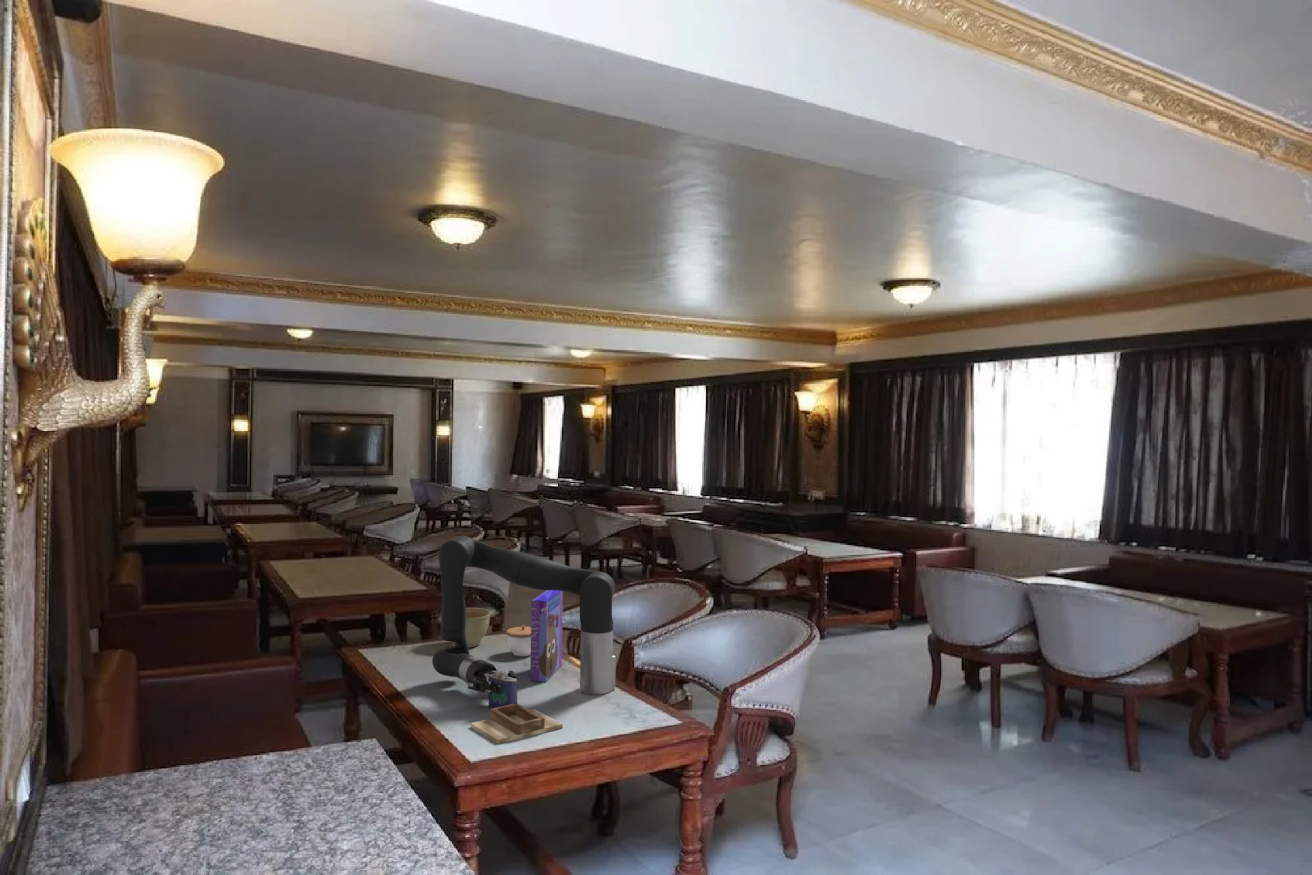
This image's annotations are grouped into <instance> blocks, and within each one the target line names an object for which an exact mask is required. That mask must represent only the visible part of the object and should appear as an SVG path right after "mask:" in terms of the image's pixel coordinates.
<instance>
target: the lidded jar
mask: <svg viewBox="0 0 1312 875" xmlns="http://www.w3.org/2000/svg"><path fill="white" fill-rule="evenodd" d="M506 644H507V647H508V649H509V651H510V652H511V653H513V655H514V656H515V657H530V656H531V626H525V624H522V625H521V626H515V627H511V628H508V629H507V630H506Z"/></svg>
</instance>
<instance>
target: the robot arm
mask: <svg viewBox="0 0 1312 875" xmlns="http://www.w3.org/2000/svg"><path fill="white" fill-rule="evenodd" d="M438 561H439V562H438V563H439V571H440V581H441V582H440V584H441V618H440V619H441V620H440V638H441V639H442V640H443V641H444V642H445V641H446V642H450V643H451V642H455V647H454V646H451V647H445V648H441V649H437V651H435V653H434V654H433V656H432V660H431V662H432V666H433V669H434V670H435V672H436V673H438V674H440V675H442V676H446V677H452V678H458V679H459V680H462V681H463V682H465V683H466V685H467V690H472V691H475V692H480V693H485V692H488V693H489V692H491V691H492V692H494V693H496V694H501V686H500V685H498V684H497V683H495V682H492V681H490V680H489V675H491V674H495V673H497V674H498V675H499V674H500V673H498V672H499V671H498V670H497V668H496V666H495V665H494V664H493V663H491V662H488V661H486V660H484V659H482V658H480V657H476V656H473V655H472V654H470V651H469V648H468V646H467V641H466V635H465V628H466V608H467V606H466V602H465V596H464V576H465V573H466V568H467V567H470V568H475V569H480V570H485V571H488V572H492V573H493V574H495V575H497V576H498V577H500V578H502V579H504V580H505V581H507V582H509V583H512V584H514V585H517V586H521V587H525V588H528V589H532V590H533V589H534V590H538V591H539V590H540V591H541V590H542V591H546V590H558V591H563V592H565V593H566V592H568V593H571V594H574V595H577V596H579V622H580V652H579V653H580V654H579V655H580V656H579V657H580V658H579V659H580V662H579V663H580V664H579V666H580V667H579V668H580V669H579V675H580V676H579V690H580V692H581V693H584V694H587V695H605V694H608V693H610V692H612V691H614V690H616V663H617V662H616V656H615V655H613V654H614V619H613V597H614V596H615V593H616V583H615V581H614V578H612V577H611V575H609V574H608V573H607V572H603V571H598V570H593V569H592V570H591V569H584V568H577V567H572V566H569V565H566V564H563V563H560V562H558V561H554V560H550V559H548V558H544V557H541V556H537V555H533V554H531V553H525V552H521V551H517V550H513V549H508V548H504V547H503V548H502V547H498V546H495V545H494V546H493V545H490V544H488V543H485V542H483V541H479V540H477V539H474V538H471V537H469V536H465V535H457V536H453V537H452V538H450V539H448V540H446V541H444V543H442V544H441V545H440V548H439V550H438ZM504 674H505V676H504V677H509V678H515V679H517V678H518V676H517V674H516V673H515V672H514V671H513V670H509V671H508V672H507V673H504ZM517 680H518V679H517ZM518 689H519V682H518V681H517V690H518Z"/></svg>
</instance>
